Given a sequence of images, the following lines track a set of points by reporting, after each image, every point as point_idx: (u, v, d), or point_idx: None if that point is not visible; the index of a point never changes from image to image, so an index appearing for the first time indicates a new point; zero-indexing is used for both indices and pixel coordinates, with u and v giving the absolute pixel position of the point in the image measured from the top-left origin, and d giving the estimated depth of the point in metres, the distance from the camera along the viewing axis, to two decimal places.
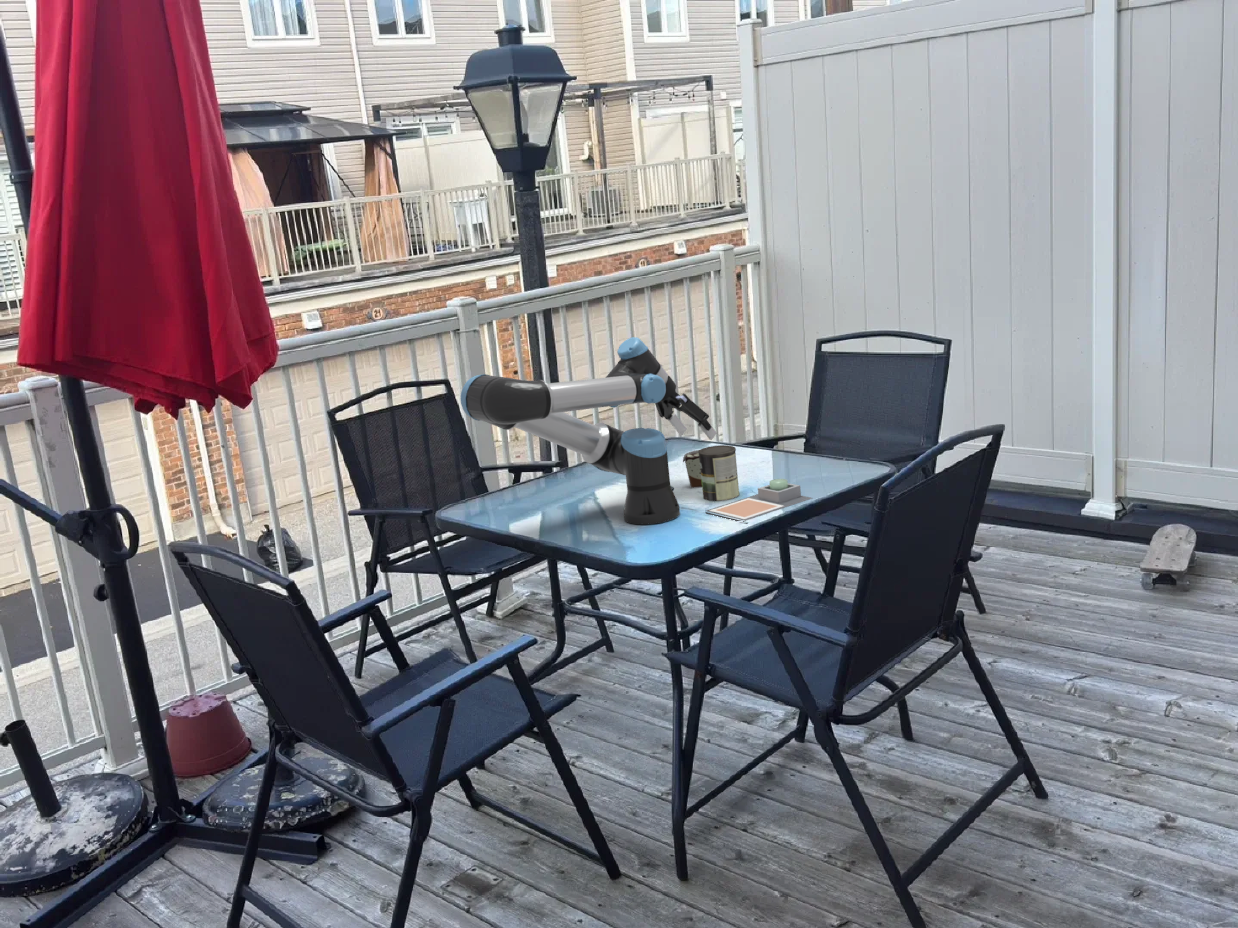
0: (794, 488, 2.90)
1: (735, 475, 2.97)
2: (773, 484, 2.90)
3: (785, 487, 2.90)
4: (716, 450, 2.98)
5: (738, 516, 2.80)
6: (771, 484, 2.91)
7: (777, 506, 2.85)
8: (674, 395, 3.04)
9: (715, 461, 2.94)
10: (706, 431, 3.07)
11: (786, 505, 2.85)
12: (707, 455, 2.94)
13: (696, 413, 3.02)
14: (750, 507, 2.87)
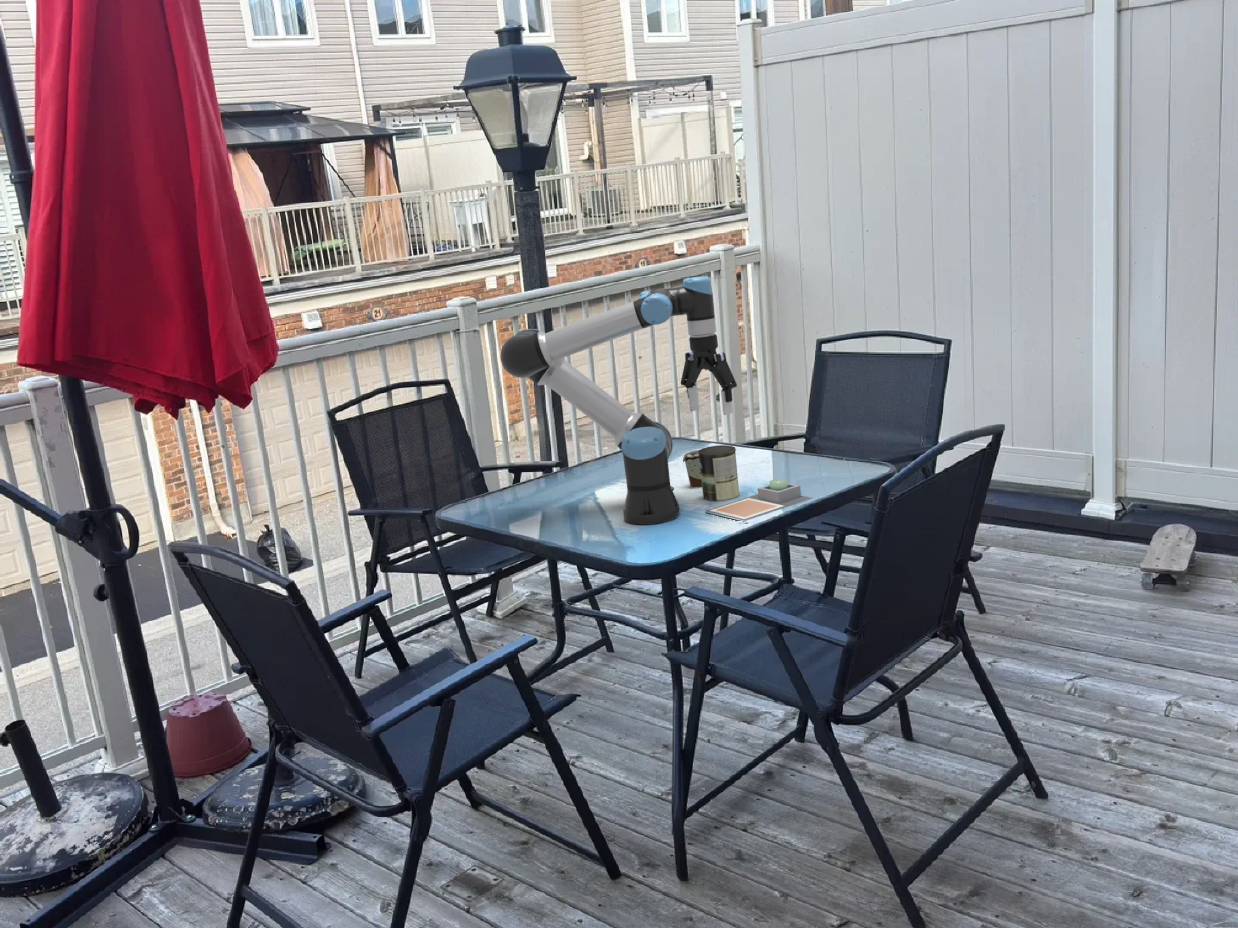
0: (794, 488, 2.90)
1: (735, 475, 2.97)
2: (773, 484, 2.90)
3: (785, 487, 2.90)
4: (716, 450, 2.98)
5: (738, 516, 2.80)
6: (771, 484, 2.91)
7: (777, 506, 2.85)
8: (713, 351, 2.90)
9: (715, 461, 2.94)
10: (725, 403, 2.90)
11: (786, 505, 2.85)
12: (707, 455, 2.94)
13: (726, 375, 2.87)
14: (750, 507, 2.87)
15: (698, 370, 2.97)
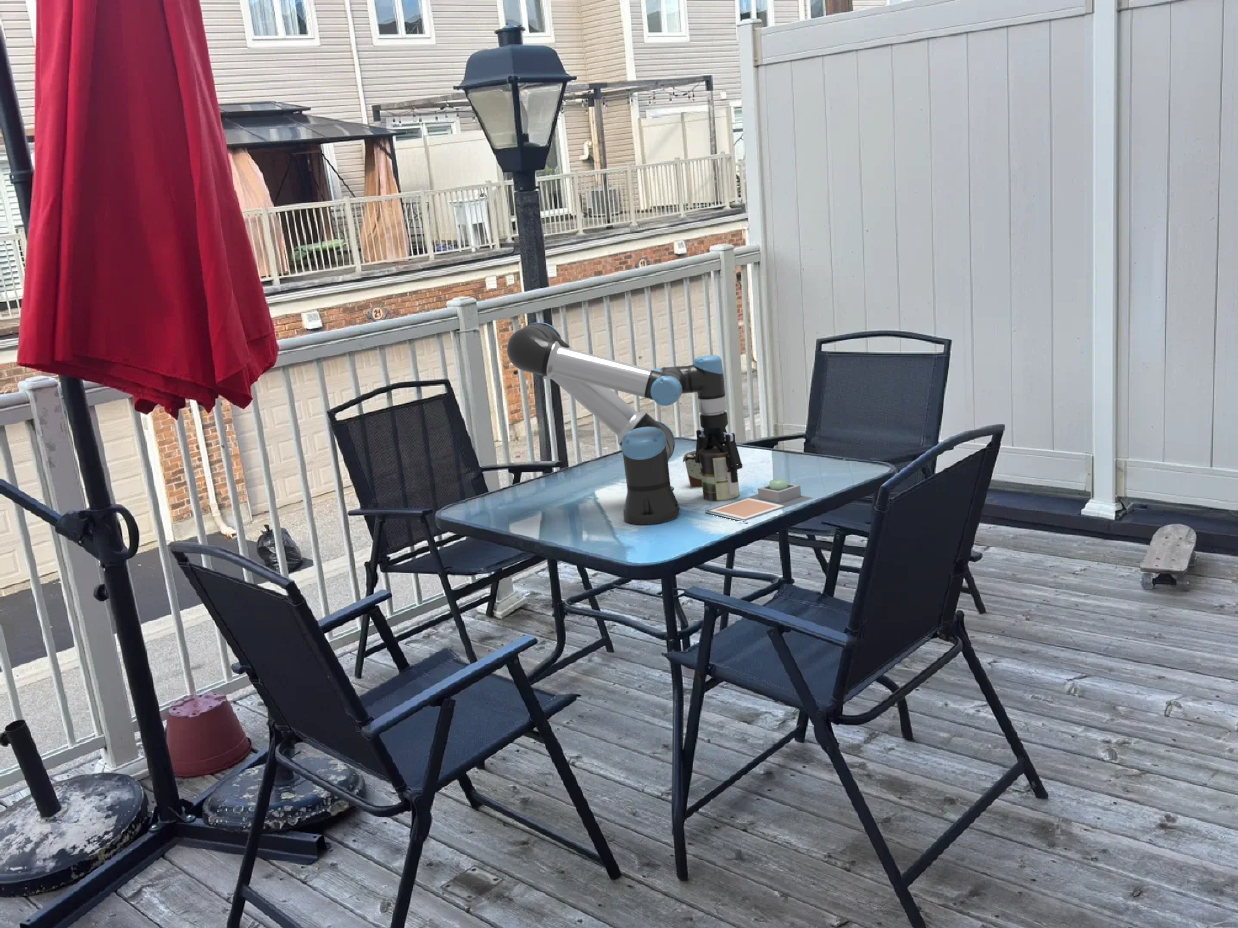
0: (794, 488, 2.90)
1: None
2: (773, 484, 2.90)
3: (785, 487, 2.90)
4: (716, 450, 2.98)
5: (738, 516, 2.80)
6: (771, 484, 2.91)
7: (777, 506, 2.85)
8: (723, 429, 2.94)
9: (715, 461, 2.94)
10: (730, 483, 2.95)
11: (786, 505, 2.85)
12: (707, 455, 2.94)
13: (733, 457, 2.92)
14: (750, 507, 2.87)
15: (710, 447, 3.00)
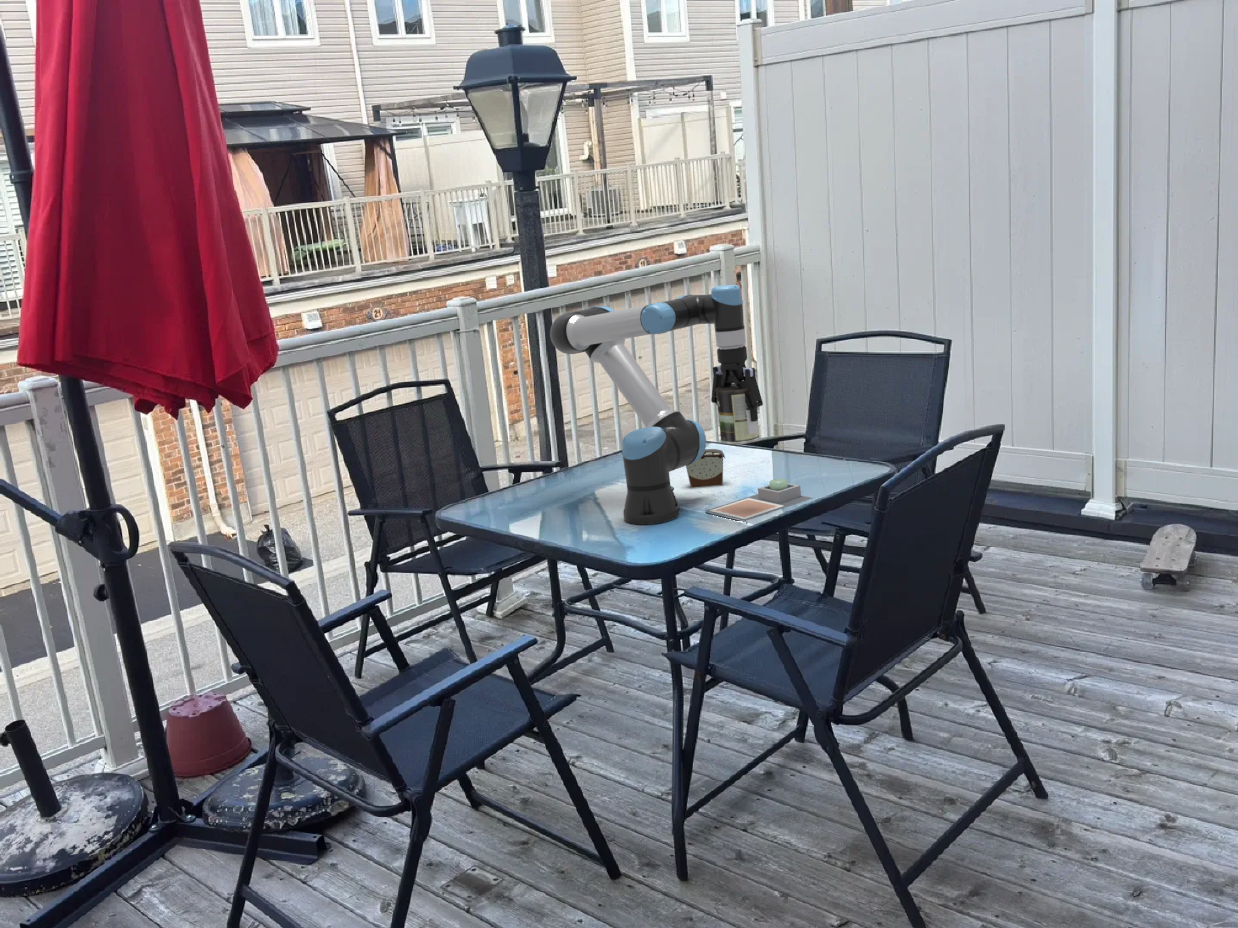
0: (794, 488, 2.90)
1: None
2: (773, 484, 2.90)
3: (785, 487, 2.90)
4: (735, 387, 2.79)
5: (738, 516, 2.80)
6: (771, 484, 2.91)
7: (777, 506, 2.85)
8: (742, 364, 2.75)
9: (733, 398, 2.75)
10: (750, 422, 2.76)
11: (786, 505, 2.85)
12: (725, 392, 2.75)
13: (753, 393, 2.73)
14: (750, 507, 2.87)
15: (728, 384, 2.81)
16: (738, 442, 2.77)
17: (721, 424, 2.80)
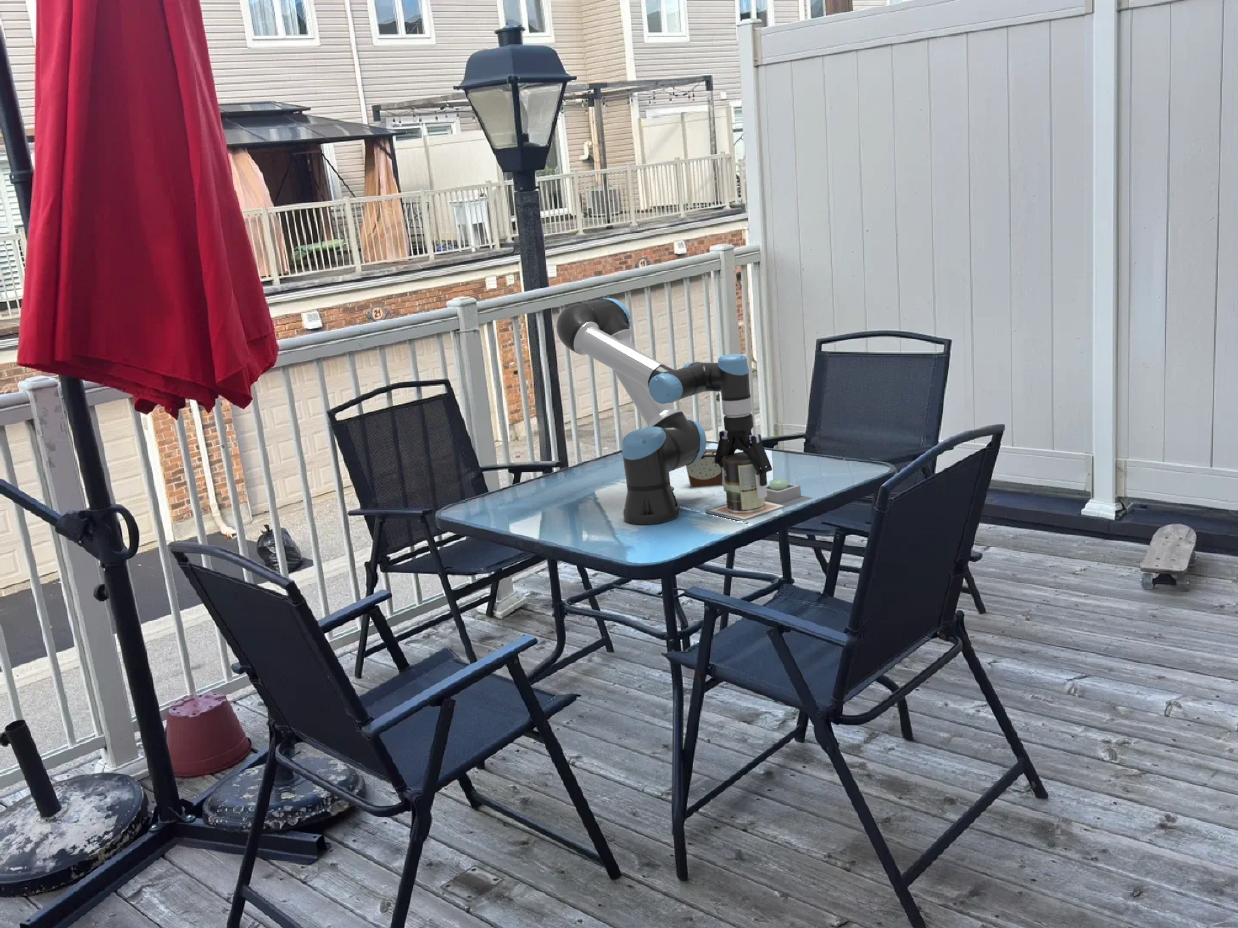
0: (794, 488, 2.90)
1: None
2: (773, 484, 2.90)
3: (785, 487, 2.90)
4: (741, 457, 2.83)
5: (738, 516, 2.80)
6: (771, 484, 2.91)
7: (777, 506, 2.85)
8: (748, 432, 2.79)
9: (740, 468, 2.79)
10: (759, 486, 2.79)
11: (786, 505, 2.85)
12: (732, 462, 2.79)
13: (761, 459, 2.76)
14: None
15: (732, 450, 2.86)
16: (744, 511, 2.82)
17: (728, 493, 2.84)
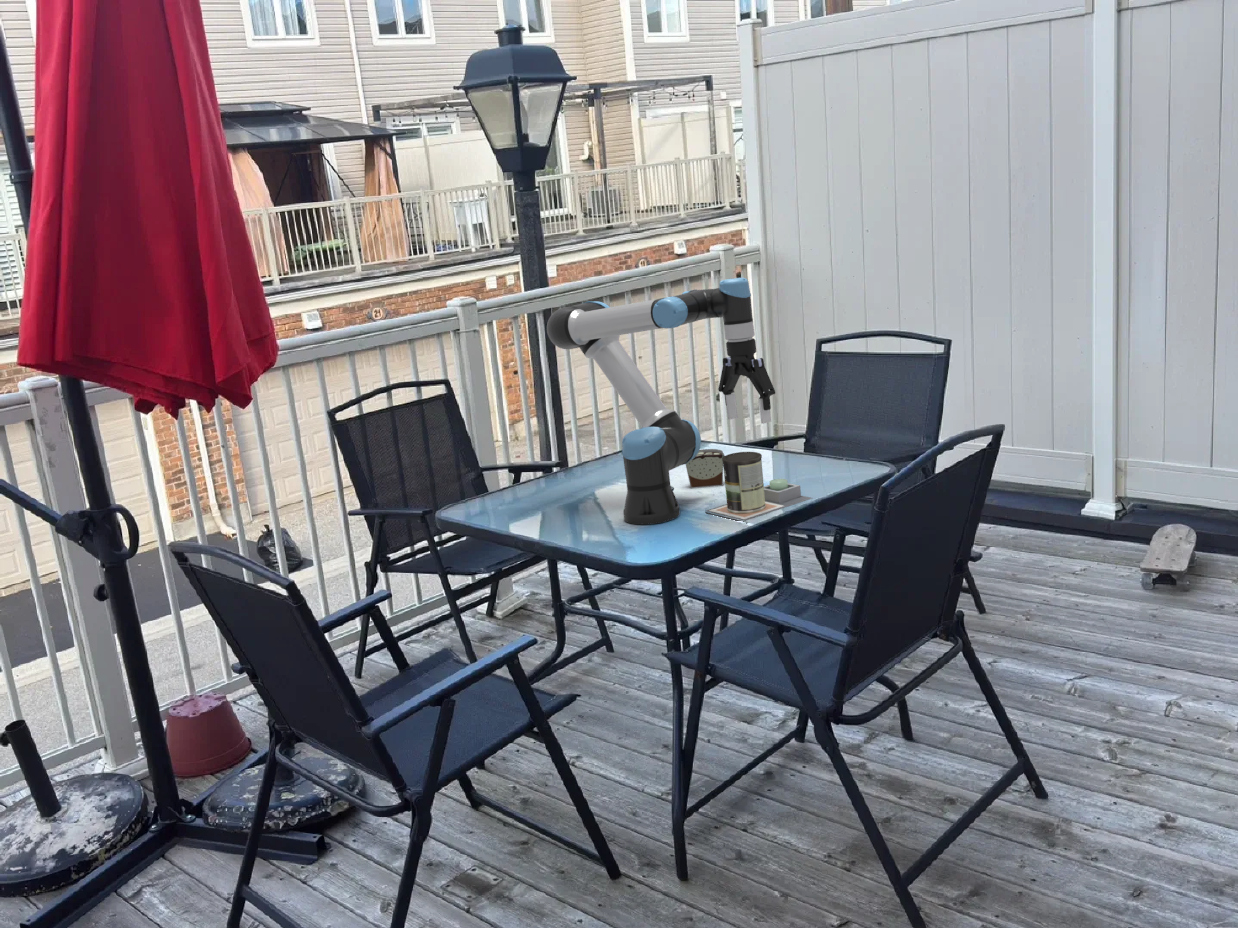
0: (794, 488, 2.90)
1: (761, 483, 2.82)
2: (773, 484, 2.90)
3: (785, 487, 2.90)
4: (741, 457, 2.83)
5: (738, 516, 2.80)
6: (771, 484, 2.91)
7: (777, 506, 2.85)
8: (750, 356, 2.75)
9: (740, 468, 2.79)
10: (763, 411, 2.75)
11: (786, 505, 2.85)
12: (732, 462, 2.79)
13: (764, 382, 2.72)
14: None
15: (736, 376, 2.83)
16: (744, 511, 2.82)
17: (728, 493, 2.84)
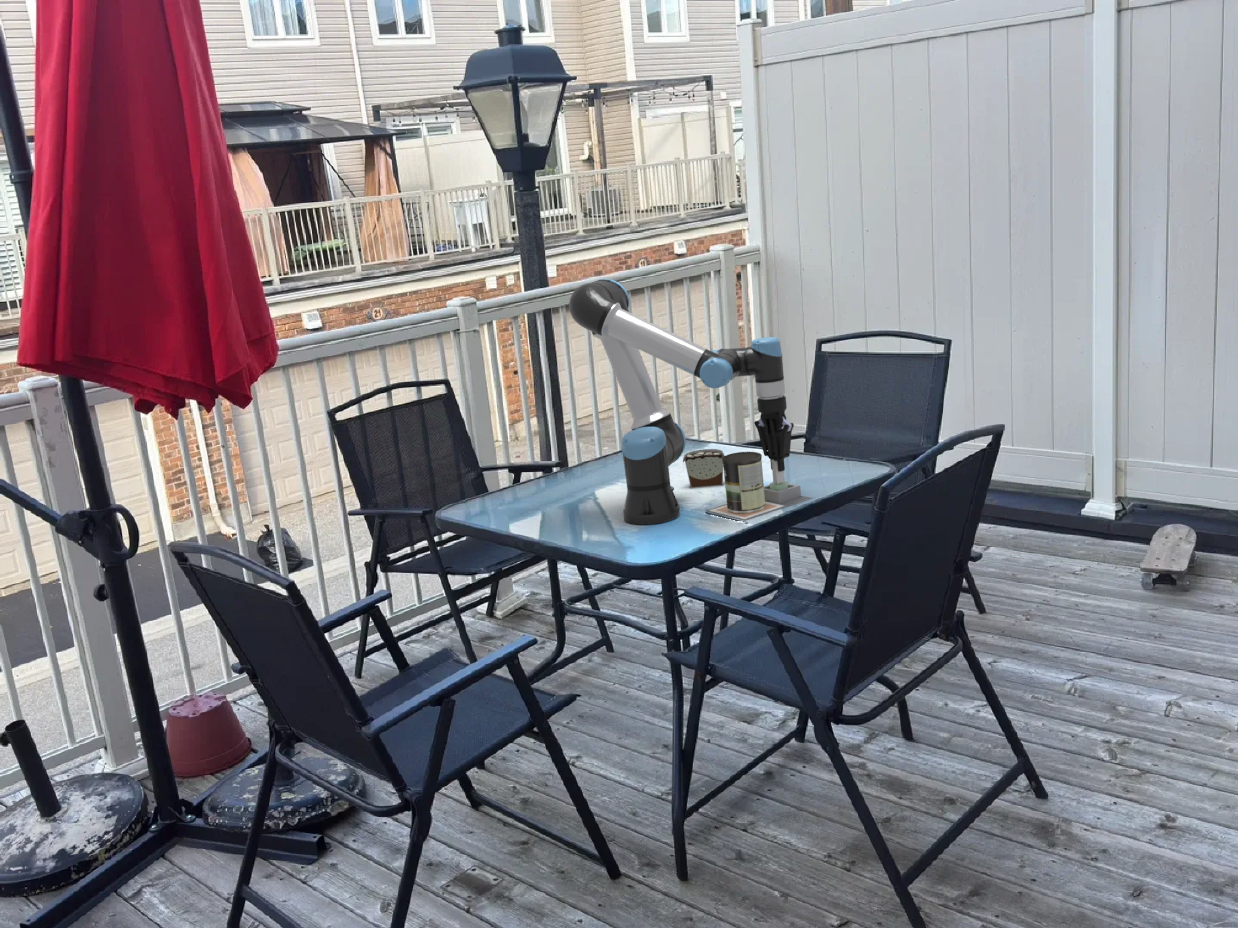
0: (794, 488, 2.90)
1: (761, 483, 2.82)
2: (773, 486, 2.90)
3: None
4: (741, 457, 2.83)
5: (738, 516, 2.80)
6: (771, 486, 2.91)
7: (777, 506, 2.85)
8: (782, 413, 2.84)
9: (740, 468, 2.79)
10: (777, 472, 2.90)
11: (786, 505, 2.85)
12: (732, 462, 2.79)
13: (784, 447, 2.86)
14: None
15: None
16: (744, 511, 2.82)
17: (728, 493, 2.84)
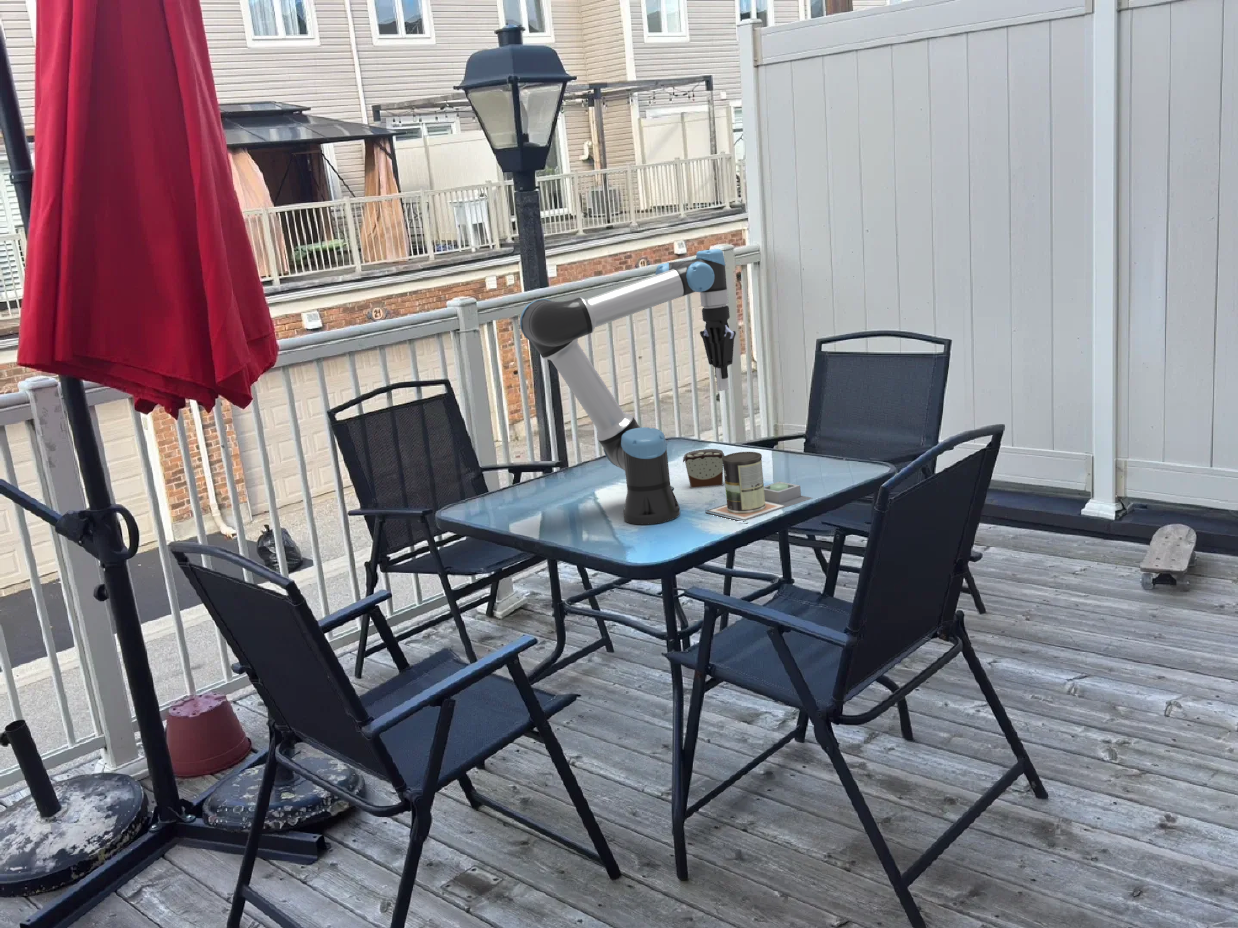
0: (794, 488, 2.90)
1: (761, 483, 2.82)
2: (773, 488, 2.90)
3: None
4: (741, 457, 2.83)
5: (738, 516, 2.80)
6: (771, 488, 2.91)
7: (777, 506, 2.85)
8: (724, 322, 2.99)
9: (740, 468, 2.79)
10: (721, 379, 3.04)
11: (786, 505, 2.85)
12: (732, 462, 2.79)
13: (727, 354, 3.00)
14: None
15: None
16: (744, 511, 2.82)
17: (728, 493, 2.84)
